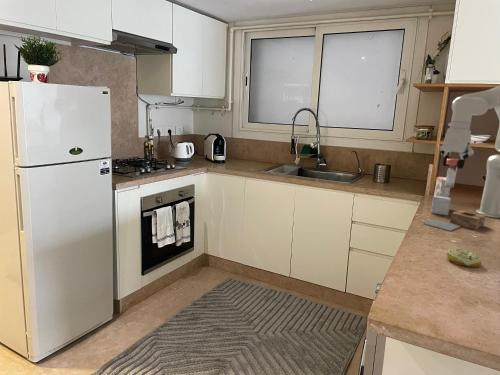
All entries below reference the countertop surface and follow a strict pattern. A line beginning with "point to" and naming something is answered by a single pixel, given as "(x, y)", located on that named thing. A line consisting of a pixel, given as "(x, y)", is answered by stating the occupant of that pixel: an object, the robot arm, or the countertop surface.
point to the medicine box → (440, 205)
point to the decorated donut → (464, 257)
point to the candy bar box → (441, 188)
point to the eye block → (467, 219)
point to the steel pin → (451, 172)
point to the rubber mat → (442, 225)
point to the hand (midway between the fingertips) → (452, 166)
